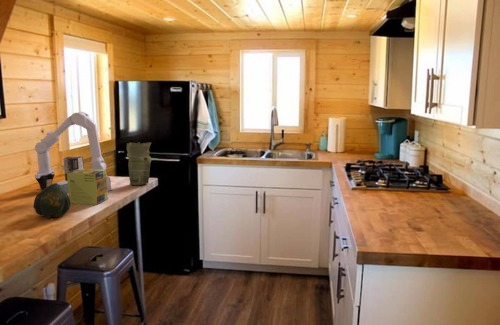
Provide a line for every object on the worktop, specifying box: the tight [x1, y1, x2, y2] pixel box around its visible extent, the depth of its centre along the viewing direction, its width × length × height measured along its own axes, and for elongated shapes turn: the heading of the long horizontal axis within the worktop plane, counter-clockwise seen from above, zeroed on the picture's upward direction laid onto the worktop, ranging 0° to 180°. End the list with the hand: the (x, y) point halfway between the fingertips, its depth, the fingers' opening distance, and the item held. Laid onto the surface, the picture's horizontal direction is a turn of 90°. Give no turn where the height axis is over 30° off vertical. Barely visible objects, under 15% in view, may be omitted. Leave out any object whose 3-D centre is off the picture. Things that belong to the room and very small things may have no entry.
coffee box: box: [62, 156, 85, 181], centre depth 239 cm, size 9×6×16 cm
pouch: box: [126, 141, 152, 186], centre depth 239 cm, size 11×12×25 cm
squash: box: [33, 182, 72, 220], centre depth 181 cm, size 14×15×15 cm
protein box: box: [67, 168, 109, 206], centre depth 203 cm, size 10×15×16 cm
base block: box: [55, 180, 68, 194], centre depth 222 cm, size 7×7×6 cm
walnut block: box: [39, 179, 53, 193], centre depth 223 cm, size 4×4×6 cm
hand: (46, 188), depth 223 cm, fingers closed on walnut block, 4 cm apart
